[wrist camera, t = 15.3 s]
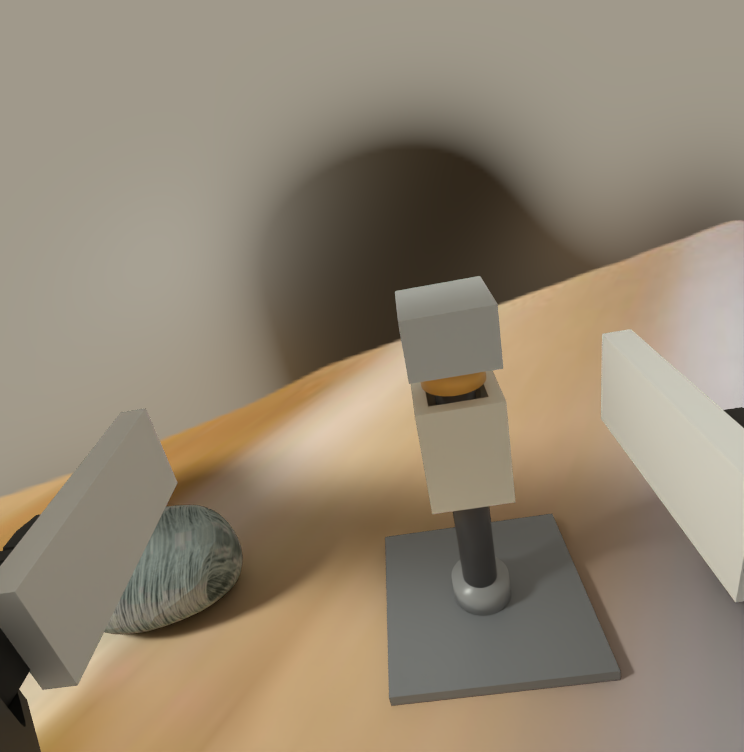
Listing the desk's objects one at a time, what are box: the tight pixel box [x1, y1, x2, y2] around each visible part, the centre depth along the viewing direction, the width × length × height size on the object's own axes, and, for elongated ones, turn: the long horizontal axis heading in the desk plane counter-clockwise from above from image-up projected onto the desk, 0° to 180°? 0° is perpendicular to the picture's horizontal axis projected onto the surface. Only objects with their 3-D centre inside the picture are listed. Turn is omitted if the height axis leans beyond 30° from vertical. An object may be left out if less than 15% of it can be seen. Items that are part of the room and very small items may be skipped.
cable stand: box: [385, 276, 620, 706], centre depth 35 cm, size 14×14×23 cm
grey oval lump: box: [104, 505, 242, 634], centre depth 44 cm, size 14×10×10 cm
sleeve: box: [411, 370, 515, 514], centre depth 33 cm, size 5×5×7 cm
